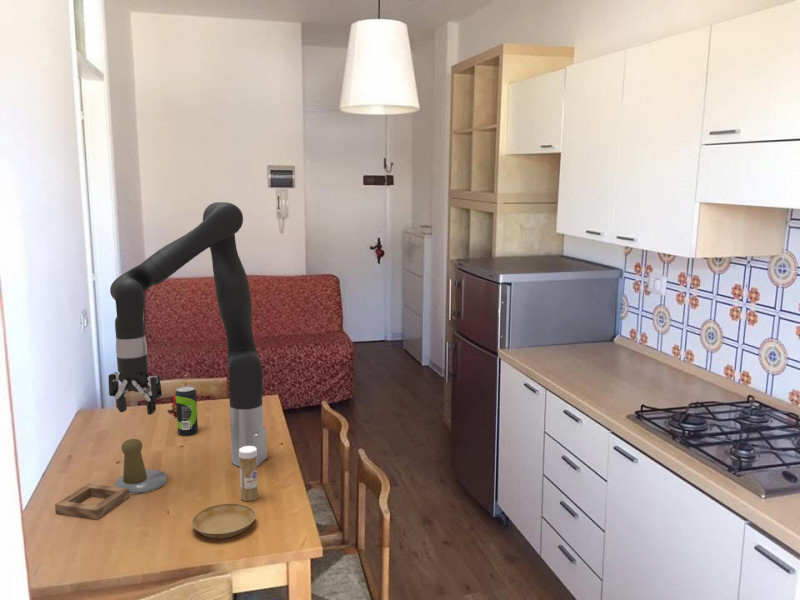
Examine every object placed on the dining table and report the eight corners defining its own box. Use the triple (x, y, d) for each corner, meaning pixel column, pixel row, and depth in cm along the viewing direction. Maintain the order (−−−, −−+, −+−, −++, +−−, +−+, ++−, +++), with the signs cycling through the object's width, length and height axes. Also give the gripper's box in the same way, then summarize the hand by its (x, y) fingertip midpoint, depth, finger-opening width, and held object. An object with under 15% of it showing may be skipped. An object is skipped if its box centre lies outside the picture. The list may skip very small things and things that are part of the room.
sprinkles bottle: (252, 502, 171) (251, 453, 168) (237, 500, 172) (235, 450, 170) (261, 494, 175) (260, 446, 173) (246, 492, 176) (244, 444, 174)
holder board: (129, 497, 173) (128, 488, 173) (97, 519, 162) (97, 510, 161) (89, 491, 176) (88, 483, 176) (55, 513, 165) (55, 504, 164)
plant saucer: (178, 537, 155) (177, 526, 154) (216, 508, 168) (216, 498, 168) (233, 549, 150) (232, 538, 149) (267, 518, 163) (267, 508, 163)
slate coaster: (176, 475, 186) (176, 472, 186) (147, 496, 174) (147, 493, 173) (135, 470, 189) (135, 467, 189) (104, 490, 177) (104, 487, 176)
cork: (138, 485, 178) (134, 446, 176) (118, 482, 179) (114, 444, 177) (151, 475, 184) (148, 437, 181) (132, 472, 185) (128, 435, 183)
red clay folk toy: (169, 413, 235) (167, 372, 233) (188, 409, 240) (186, 369, 237) (178, 419, 229) (175, 377, 227) (197, 415, 234) (195, 373, 231)
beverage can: (202, 431, 219) (199, 387, 216) (186, 437, 213) (184, 392, 211) (189, 428, 222) (186, 384, 219) (173, 433, 217) (171, 389, 214)
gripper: (164, 351, 177) (168, 409, 180) (117, 348, 180) (122, 406, 183) (147, 358, 169) (152, 419, 172) (98, 355, 173) (104, 415, 176)
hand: (136, 412), depth 178 cm, fingers open, 8 cm apart
